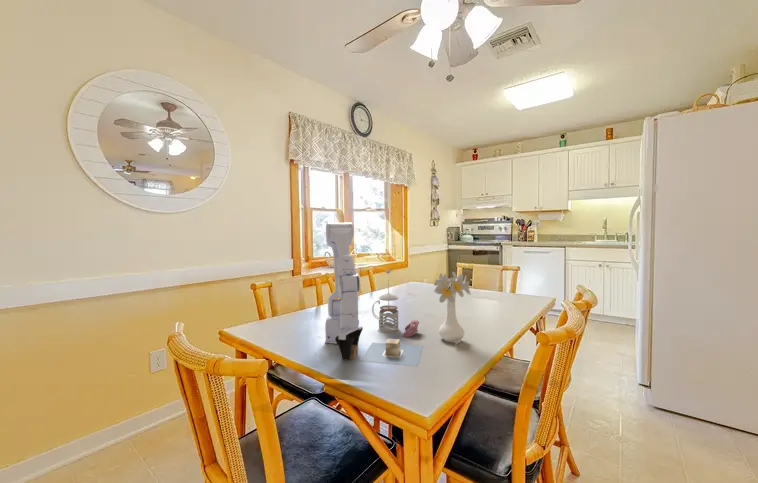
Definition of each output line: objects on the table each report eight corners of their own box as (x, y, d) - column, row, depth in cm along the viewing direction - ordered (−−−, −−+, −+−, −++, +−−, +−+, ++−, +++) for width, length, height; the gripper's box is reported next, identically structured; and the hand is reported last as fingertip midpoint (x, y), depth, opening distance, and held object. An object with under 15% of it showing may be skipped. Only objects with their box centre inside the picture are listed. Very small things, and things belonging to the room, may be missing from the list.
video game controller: (412, 343, 116) (420, 327, 115) (401, 337, 117) (409, 321, 116) (414, 334, 126) (421, 320, 125) (404, 329, 127) (411, 314, 126)
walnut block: (342, 361, 98) (341, 348, 98) (346, 356, 102) (346, 344, 102) (354, 362, 97) (353, 349, 97) (357, 357, 101) (357, 344, 101)
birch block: (385, 355, 100) (385, 342, 100) (388, 350, 104) (387, 338, 104) (397, 356, 99) (397, 343, 99) (399, 351, 103) (399, 339, 103)
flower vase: (432, 350, 105) (431, 277, 105) (435, 332, 123) (435, 270, 122) (472, 353, 102) (471, 277, 101) (470, 334, 120) (469, 270, 119)
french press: (399, 335, 121) (398, 271, 120) (370, 334, 123) (369, 271, 122) (402, 327, 130) (401, 268, 129) (375, 326, 132) (374, 268, 131)
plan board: (359, 363, 96) (359, 360, 96) (372, 344, 111) (372, 342, 111) (417, 368, 92) (417, 365, 92) (422, 348, 107) (422, 345, 107)
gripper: (354, 319, 91) (355, 364, 92) (367, 307, 105) (368, 346, 106) (331, 318, 93) (332, 363, 93) (347, 306, 107) (348, 345, 107)
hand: (350, 354), depth 100 cm, fingers open, 7 cm apart
